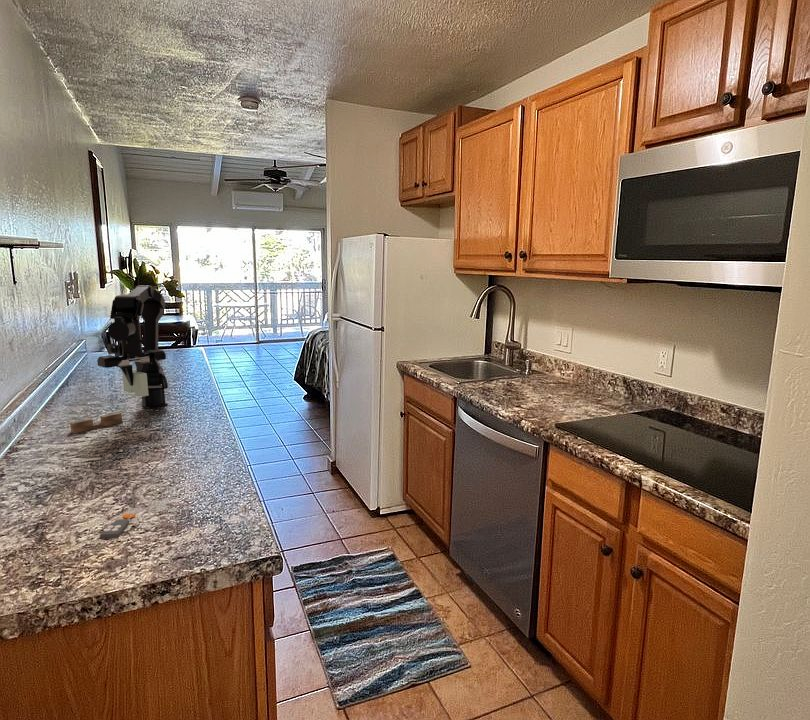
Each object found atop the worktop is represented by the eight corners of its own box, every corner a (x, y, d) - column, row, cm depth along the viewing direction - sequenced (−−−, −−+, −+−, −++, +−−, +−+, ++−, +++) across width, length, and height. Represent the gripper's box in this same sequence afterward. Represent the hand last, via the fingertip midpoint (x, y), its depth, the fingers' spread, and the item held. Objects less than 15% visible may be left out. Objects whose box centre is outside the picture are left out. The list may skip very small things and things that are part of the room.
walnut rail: (119, 421, 167) (118, 412, 166) (122, 422, 165) (121, 413, 165) (71, 432, 156) (69, 422, 155) (73, 433, 155) (72, 423, 154)
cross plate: (124, 390, 168) (121, 369, 166) (130, 389, 169) (128, 368, 168) (142, 396, 160) (140, 374, 159) (148, 395, 162) (146, 373, 161)
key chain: (119, 539, 97) (118, 532, 97) (98, 540, 97) (97, 533, 96) (148, 507, 110) (148, 501, 109) (130, 508, 109) (129, 501, 109)
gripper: (147, 330, 174) (151, 376, 176) (87, 337, 159) (92, 386, 162) (164, 333, 167) (168, 381, 170) (103, 340, 152) (108, 392, 155)
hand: (135, 384), depth 164 cm, fingers closed on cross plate, 2 cm apart
